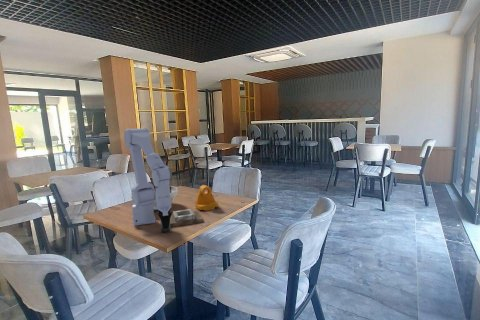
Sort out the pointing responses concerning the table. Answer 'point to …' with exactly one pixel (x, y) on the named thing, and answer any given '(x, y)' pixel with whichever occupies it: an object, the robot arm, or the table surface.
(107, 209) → the table surface
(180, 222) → the nut plate
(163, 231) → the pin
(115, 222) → the table surface
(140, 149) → the robot arm
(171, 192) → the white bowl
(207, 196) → the bracket
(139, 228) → the table surface
